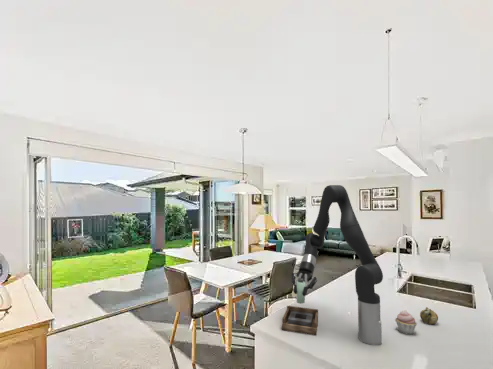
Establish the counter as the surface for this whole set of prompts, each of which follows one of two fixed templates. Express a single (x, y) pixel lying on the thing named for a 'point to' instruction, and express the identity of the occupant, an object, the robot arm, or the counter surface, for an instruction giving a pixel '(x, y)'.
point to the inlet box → (300, 320)
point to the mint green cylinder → (300, 291)
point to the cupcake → (405, 322)
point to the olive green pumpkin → (429, 316)
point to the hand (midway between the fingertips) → (299, 293)
